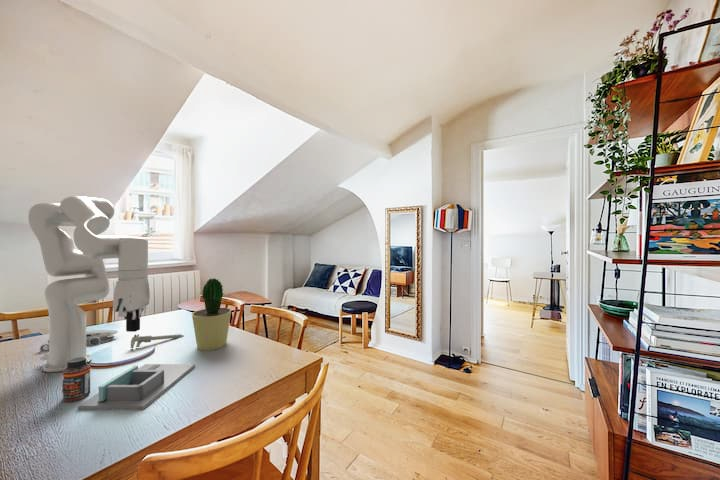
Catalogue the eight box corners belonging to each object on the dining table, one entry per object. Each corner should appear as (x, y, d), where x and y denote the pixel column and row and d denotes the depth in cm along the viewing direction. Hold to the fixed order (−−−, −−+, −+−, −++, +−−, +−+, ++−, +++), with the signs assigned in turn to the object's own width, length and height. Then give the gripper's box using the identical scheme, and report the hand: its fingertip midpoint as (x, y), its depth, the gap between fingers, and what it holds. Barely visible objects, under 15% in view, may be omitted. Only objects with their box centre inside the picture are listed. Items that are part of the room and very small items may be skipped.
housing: (77, 409, 79) (77, 391, 79) (145, 366, 104) (145, 353, 104) (143, 409, 79) (143, 391, 79) (195, 366, 105) (195, 353, 104)
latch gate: (98, 400, 80) (98, 386, 80) (134, 377, 93) (134, 365, 93) (103, 400, 80) (103, 386, 80) (138, 377, 93) (137, 365, 93)
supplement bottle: (58, 405, 81) (57, 365, 80) (67, 394, 86) (67, 357, 86) (86, 399, 83) (86, 361, 83) (93, 389, 89) (93, 353, 88)
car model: (47, 344, 124) (47, 333, 124) (119, 335, 137) (119, 324, 137) (36, 354, 115) (36, 341, 115) (115, 342, 128) (115, 331, 128)
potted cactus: (187, 344, 125) (188, 276, 125) (224, 336, 136) (225, 273, 135) (196, 355, 114) (196, 281, 114) (236, 346, 124) (236, 277, 124)
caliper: (131, 350, 119) (131, 335, 119) (130, 349, 120) (130, 335, 120) (184, 336, 136) (184, 323, 136) (183, 336, 136) (183, 323, 136)
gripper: (138, 271, 100) (138, 323, 100) (101, 278, 85) (101, 339, 85) (160, 271, 100) (160, 323, 101) (127, 278, 85) (127, 339, 86)
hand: (133, 330), depth 93 cm, fingers closed
